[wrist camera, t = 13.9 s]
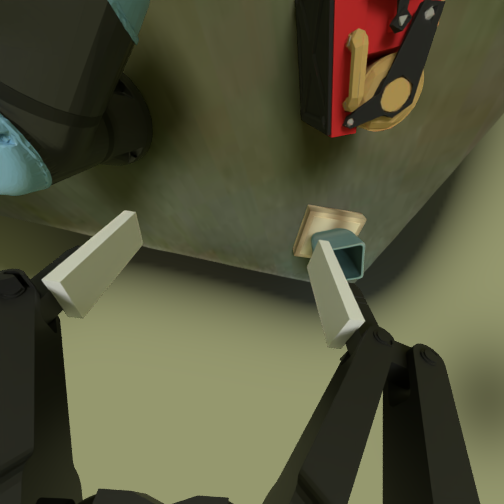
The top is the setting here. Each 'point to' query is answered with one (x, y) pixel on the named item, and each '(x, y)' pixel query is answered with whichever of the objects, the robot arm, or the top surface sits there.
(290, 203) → the top surface
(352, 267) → the flower pot
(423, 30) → the red mechanical box
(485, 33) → the top surface
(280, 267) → the top surface
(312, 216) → the oak stand
